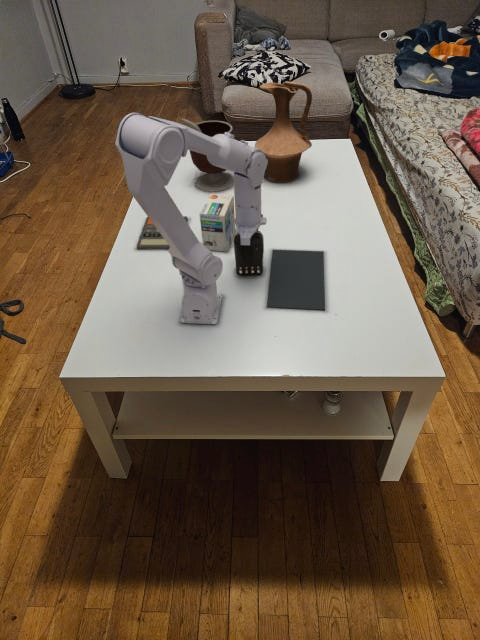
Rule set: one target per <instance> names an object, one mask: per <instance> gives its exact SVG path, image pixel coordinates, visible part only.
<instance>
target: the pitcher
mask: <svg viewBox="0 0 480 640" xmlns="http://www.w3.org/2000/svg"><path fill="white" fill-rule="evenodd" d="M259 89H260V90H264V91H267V92H269V93H270V94H271V95H272V96H273V99H274V104H275V117H274V121H273V124H272V126H271V127H270V129H269V131H267V132H266V134H264V135H263V136H262V137H260V138H258V139H257V140H256V142H255V143H254V148H257V149H260V150H262V151H263V154H264V155H265V156H266V160H267V159H268V162H267V167H266V170H265V172H264V177H265V179H267V180H269V181H271V182H272V183H273V182H274V183H288V182H292V181H294V180H295V179H296V178H298V176H299V170H300V164H301V163H300V162H301V158H302V154H303V153H304V152H306V151H307V150H308V149H310V148H311V147H312V146H313V145H312V142H311V140H310V139H309V136H308V135H307V131H306V124H307V120H308V115H309V113H310V110H311V106H312V101H313V93H312V90H311V88H310V87H309V86H308V85H307V84H304V83H301V82H294V81H293V82H292V81H288V80H285V81H284V84H282V83H279V82H266V83H263V84H261V85H259ZM299 90H300V91H302V92H305V95H306V102H305V106H304V109H303V113H302V116H301V121H300V133H299V132H298V131H297V130H296V129H295V127H294V126H293V123H292V121H291V117H290V103H291V101H292V100H293V98H294V96H295V95H296V94H297V92H298V91H299Z"/></svg>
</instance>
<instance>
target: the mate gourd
mask: <svg viewBox="0 0 480 640" xmlns="http://www.w3.org/2000/svg"><path fill="white" fill-rule="evenodd" d="M180 120H181V122H182V123H184V124H186V125H187V126H188V127H190V128H192V129H194V130H196V131H198V132H201V133H203V134H205V135H207V136H209V137H211V138H212V137H213V136H215V135H217V134H224V133H225V132H227V133H230V134H232V135H234V136H235V133H234V130H233V125H232V124H230V123H229V122H226V121H223V120H204V121H200V122H197V123H195V122H193V121H190V120H188V119H186V118H181V119H180ZM234 139H235V137H234ZM235 140H236V139H235ZM189 154H190V158H191V161H192V164H193V165H194V166H195V167H196V168H197V169H198V171H199V172H202V173H203V174H200V175H199V176H198V177H196V179H195V186H196V188H197V189H198V190H200V191H202V192H206V193H207V192H208V193H219V192H224V191H227V190H229V189H230V188H232V187H234V176H233V175H231V174H229V173H227V172H225V171H227V170H226V169H223V168H220V167H217V166H214V165H212V164H211V163H210V162H209V161H208V159H207V156H206V155H204V154H201V153H198V152H194V151H191V150H189Z"/></svg>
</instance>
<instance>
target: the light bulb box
mask: <svg viewBox="0 0 480 640" xmlns="http://www.w3.org/2000/svg"><path fill="white" fill-rule="evenodd" d="M235 218H236V217H235V196H234V195H230V194H219V193H209V194H208V196H207V198H206V200H205V202H204V204H203V206H202V208H201V209H200V212H199V222H200V230H201V231H200V232H201V239H202V244H203V245H204V246H205V247H206V248H207V249H209V250H210V251H216V252H228V250H229V248H230V246H231V243H232V241H233V239H234V236H235V234H236V225H235Z"/></svg>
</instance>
